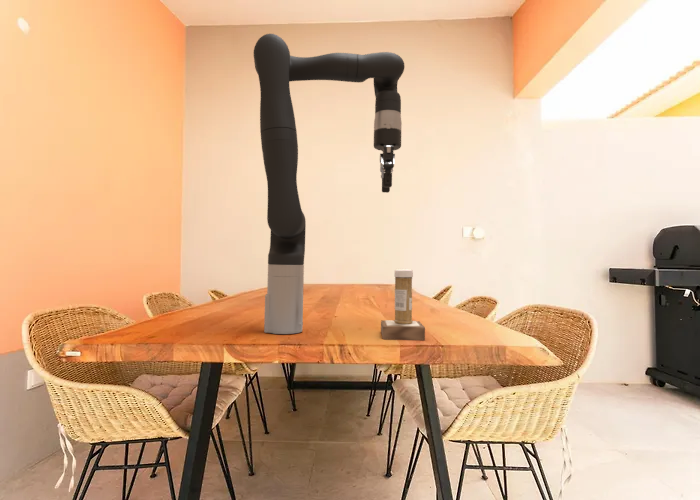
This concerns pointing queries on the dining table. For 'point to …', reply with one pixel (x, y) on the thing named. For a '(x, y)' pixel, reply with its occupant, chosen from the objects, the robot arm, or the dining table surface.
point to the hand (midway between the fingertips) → (386, 189)
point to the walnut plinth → (402, 330)
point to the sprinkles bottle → (403, 296)
